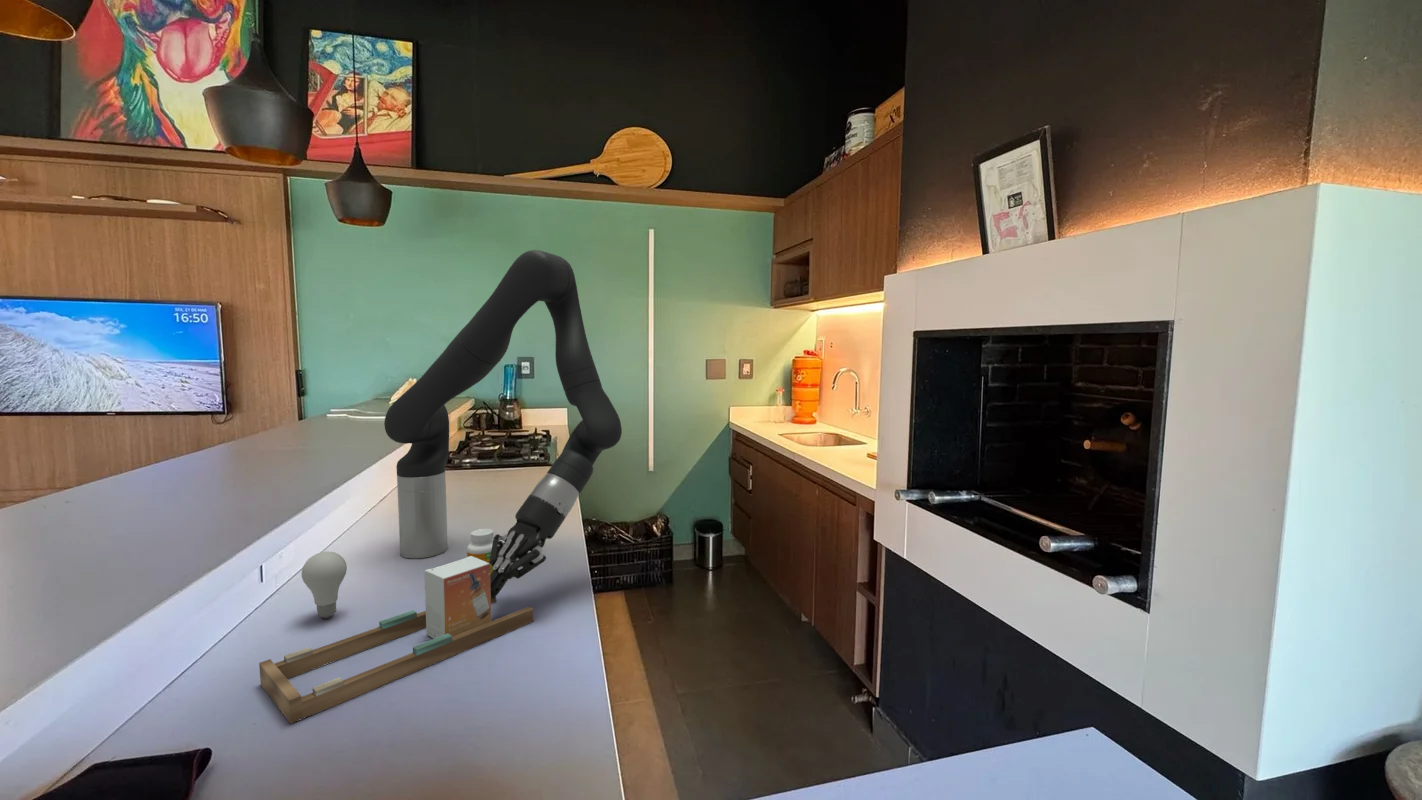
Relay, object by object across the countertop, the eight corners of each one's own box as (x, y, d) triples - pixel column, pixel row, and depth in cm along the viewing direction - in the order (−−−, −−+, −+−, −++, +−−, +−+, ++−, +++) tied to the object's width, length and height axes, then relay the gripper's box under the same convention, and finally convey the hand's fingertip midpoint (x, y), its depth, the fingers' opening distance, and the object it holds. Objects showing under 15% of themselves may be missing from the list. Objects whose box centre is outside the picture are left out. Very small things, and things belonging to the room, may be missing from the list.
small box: (444, 647, 86) (442, 579, 85) (425, 635, 89) (422, 569, 88) (492, 626, 92) (491, 562, 91) (473, 615, 96) (471, 554, 95)
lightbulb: (357, 612, 96) (354, 548, 95) (322, 629, 91) (318, 561, 90) (331, 606, 98) (327, 544, 97) (295, 622, 93) (291, 556, 92)
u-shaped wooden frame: (260, 684, 76) (259, 662, 76) (492, 599, 102) (491, 583, 102) (290, 724, 68) (289, 700, 68) (533, 621, 94) (533, 603, 94)
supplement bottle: (488, 588, 106) (486, 537, 105) (461, 586, 107) (460, 535, 106) (504, 577, 111) (502, 528, 110) (479, 574, 113) (477, 526, 112)
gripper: (513, 487, 104) (449, 574, 96) (558, 500, 96) (493, 596, 87) (538, 509, 108) (480, 594, 100) (584, 523, 100) (525, 617, 92)
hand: (486, 595), depth 94 cm, fingers closed
